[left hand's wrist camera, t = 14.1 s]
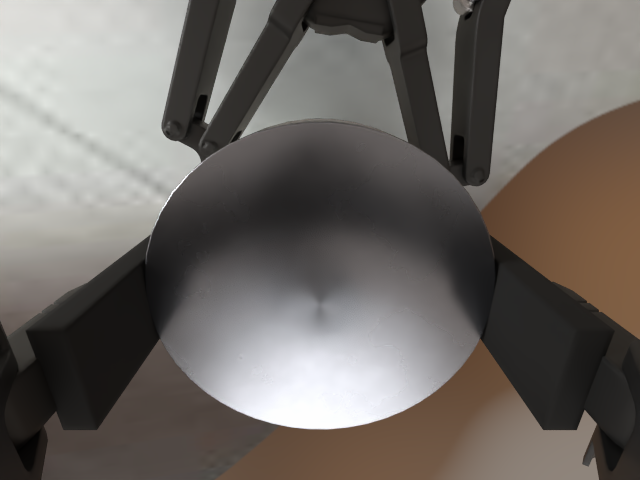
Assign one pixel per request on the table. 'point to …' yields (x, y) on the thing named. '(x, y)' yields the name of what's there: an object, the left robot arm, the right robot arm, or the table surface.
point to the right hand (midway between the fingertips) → (309, 278)
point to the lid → (320, 275)
